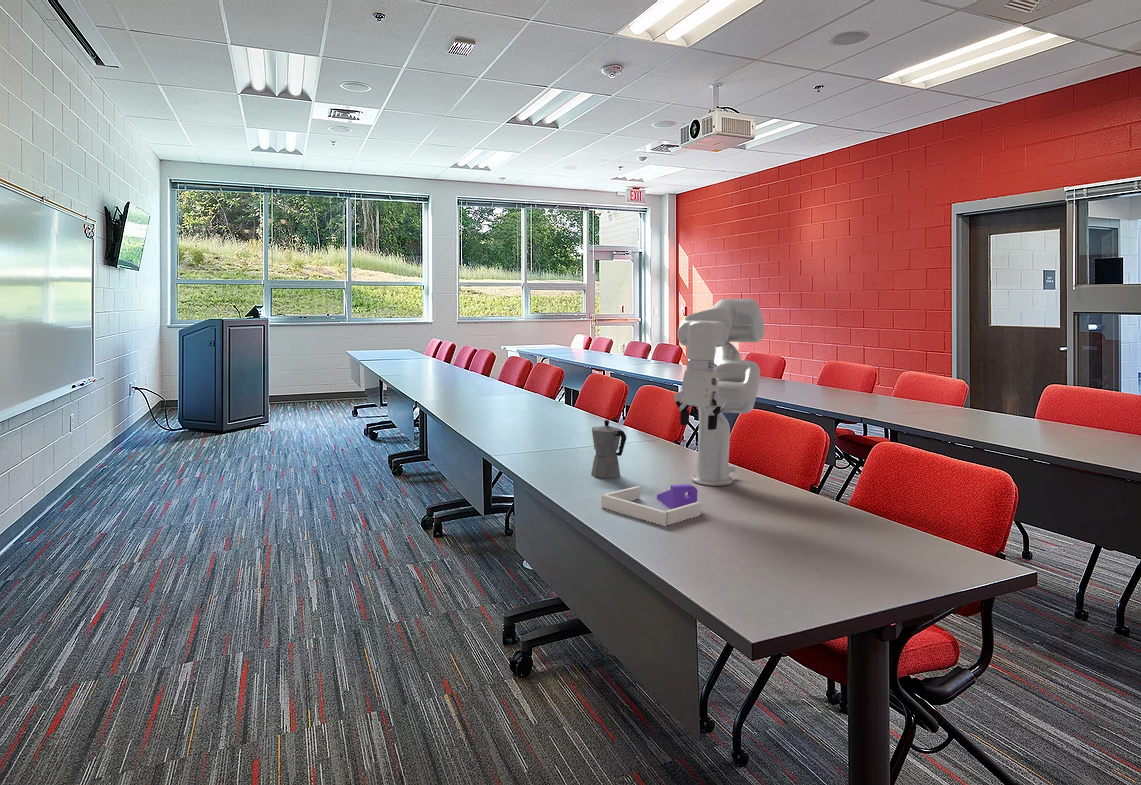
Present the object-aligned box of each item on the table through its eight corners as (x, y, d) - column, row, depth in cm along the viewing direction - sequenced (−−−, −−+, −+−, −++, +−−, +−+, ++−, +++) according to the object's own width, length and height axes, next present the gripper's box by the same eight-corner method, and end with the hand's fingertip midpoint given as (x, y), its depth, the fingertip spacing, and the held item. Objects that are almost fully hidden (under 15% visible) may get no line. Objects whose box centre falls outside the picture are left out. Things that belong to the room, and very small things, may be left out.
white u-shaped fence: (637, 498, 199) (637, 486, 198) (700, 515, 183) (700, 502, 183) (601, 507, 189) (601, 494, 189) (664, 526, 173) (665, 512, 173)
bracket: (696, 510, 188) (697, 485, 188) (672, 512, 187) (673, 487, 186) (679, 499, 200) (680, 475, 199) (656, 500, 198) (657, 476, 198)
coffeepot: (581, 473, 228) (582, 418, 226) (602, 469, 234) (603, 416, 232) (613, 482, 216) (614, 425, 214) (635, 478, 222) (636, 422, 220)
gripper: (734, 367, 191) (731, 429, 193) (684, 363, 204) (682, 422, 206) (718, 368, 186) (715, 432, 188) (667, 364, 199) (665, 424, 201)
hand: (698, 427), depth 197 cm, fingers open, 9 cm apart
